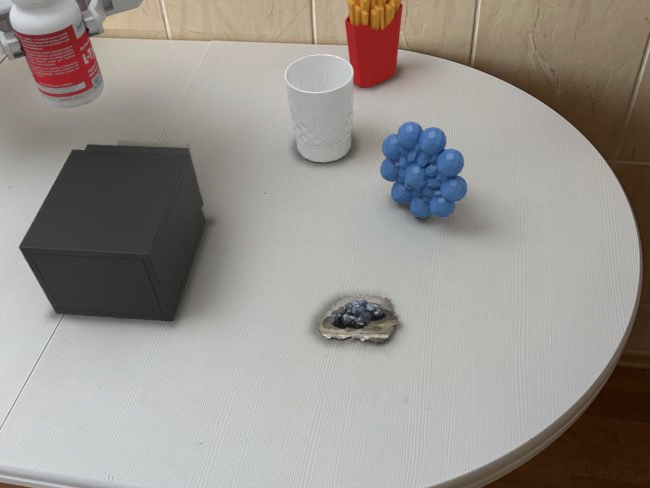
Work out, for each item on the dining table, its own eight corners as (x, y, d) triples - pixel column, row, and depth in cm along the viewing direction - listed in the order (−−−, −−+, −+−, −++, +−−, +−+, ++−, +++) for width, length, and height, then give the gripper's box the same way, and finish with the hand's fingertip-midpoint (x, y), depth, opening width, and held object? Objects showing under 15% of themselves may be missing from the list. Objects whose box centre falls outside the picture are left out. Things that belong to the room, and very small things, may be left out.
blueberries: (405, 341, 69) (405, 329, 67) (324, 357, 68) (323, 345, 66) (387, 291, 73) (387, 278, 71) (311, 306, 72) (309, 293, 70)
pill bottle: (110, 102, 68) (71, -14, 59) (45, 117, 67) (-4, 1, 58) (101, 69, 72) (63, -45, 63) (40, 82, 71) (-8, -31, 62)
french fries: (360, 93, 94) (358, 4, 85) (342, 80, 96) (338, -8, 87) (408, 69, 97) (411, -20, 87) (389, 57, 99) (391, -31, 89)
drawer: (119, 176, 85) (99, 120, 78) (211, 180, 83) (198, 123, 77) (68, 285, 74) (40, 230, 68) (173, 291, 73) (154, 236, 67)
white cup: (360, 129, 89) (358, 55, 81) (350, 168, 85) (347, 94, 77) (299, 125, 90) (292, 52, 83) (286, 163, 86) (277, 90, 78)
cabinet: (100, 217, 82) (72, 148, 74) (206, 222, 80) (188, 153, 73) (55, 313, 73) (18, 247, 65) (173, 321, 72) (148, 254, 64)
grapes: (484, 220, 78) (499, 128, 69) (444, 251, 76) (454, 160, 66) (407, 173, 84) (411, 82, 74) (367, 201, 81) (366, 110, 71)
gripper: (127, -19, 77) (170, 39, 69) (-65, 35, 72) (-42, 104, 64) (110, -82, 72) (154, -26, 64) (-98, -29, 66) (-77, 37, 59)
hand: (54, 39), depth 64 cm, fingers closed on pill bottle, 6 cm apart
